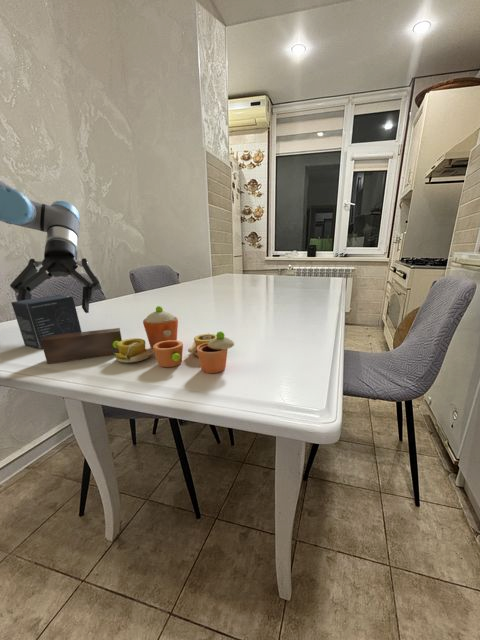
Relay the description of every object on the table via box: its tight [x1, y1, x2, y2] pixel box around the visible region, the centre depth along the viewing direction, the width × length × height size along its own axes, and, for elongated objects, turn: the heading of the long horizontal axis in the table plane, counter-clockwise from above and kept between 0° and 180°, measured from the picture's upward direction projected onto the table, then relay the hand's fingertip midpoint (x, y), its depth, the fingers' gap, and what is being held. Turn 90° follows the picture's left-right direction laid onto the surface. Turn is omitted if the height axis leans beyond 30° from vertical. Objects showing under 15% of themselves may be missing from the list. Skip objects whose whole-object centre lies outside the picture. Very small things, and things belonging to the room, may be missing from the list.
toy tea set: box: [113, 305, 235, 374], centre depth 60 cm, size 26×16×10 cm, turn 72°
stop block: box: [41, 327, 123, 365], centre depth 61 cm, size 14×3×5 cm, turn 116°
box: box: [10, 294, 82, 349], centre depth 70 cm, size 11×7×10 cm, turn 155°
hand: (55, 311), depth 74 cm, fingers open, 13 cm apart
